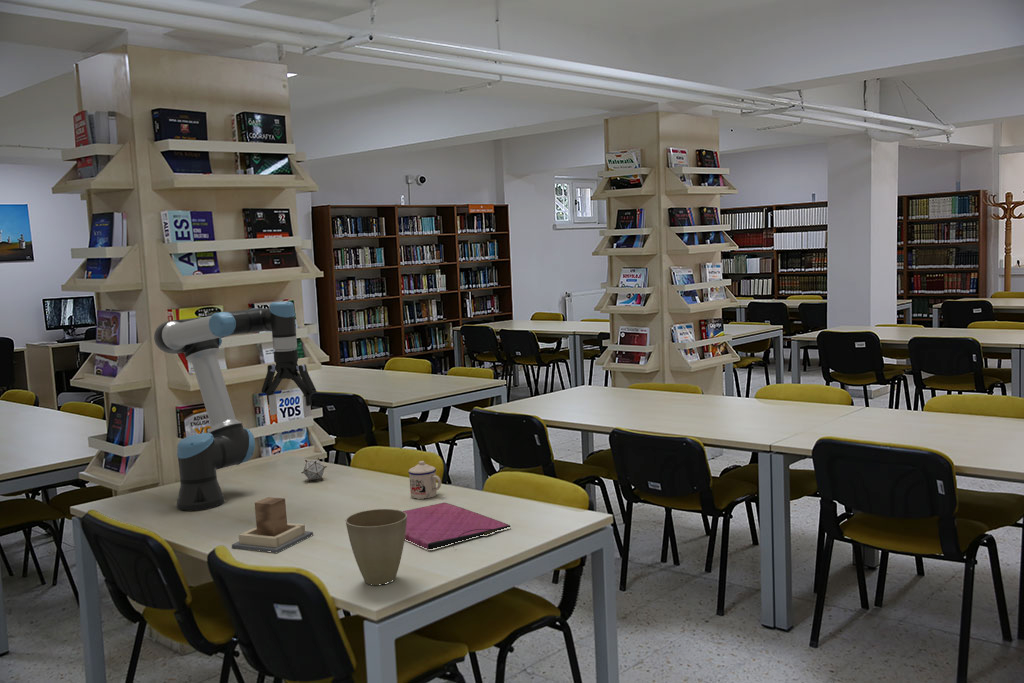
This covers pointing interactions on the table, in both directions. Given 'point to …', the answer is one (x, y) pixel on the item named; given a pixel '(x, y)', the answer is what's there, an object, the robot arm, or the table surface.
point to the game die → (314, 469)
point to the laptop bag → (446, 525)
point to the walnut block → (271, 516)
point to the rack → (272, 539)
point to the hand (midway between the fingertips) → (290, 415)
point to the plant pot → (377, 543)
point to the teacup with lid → (423, 481)
